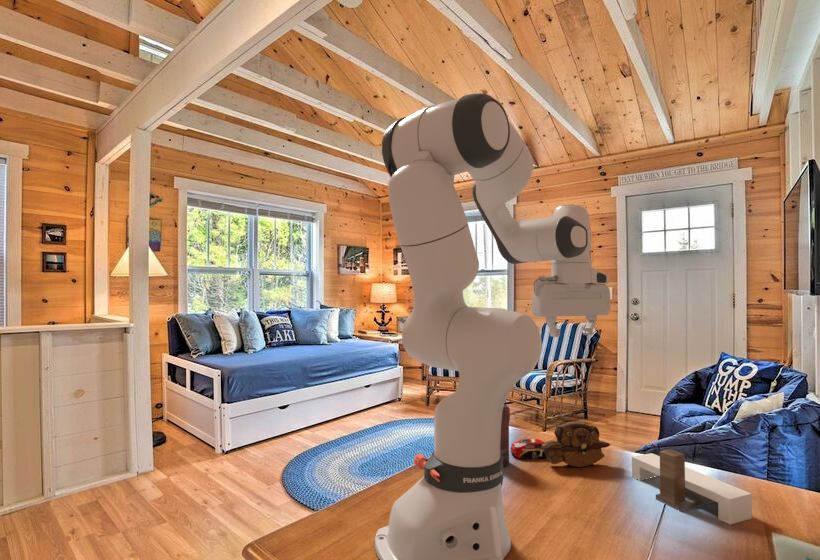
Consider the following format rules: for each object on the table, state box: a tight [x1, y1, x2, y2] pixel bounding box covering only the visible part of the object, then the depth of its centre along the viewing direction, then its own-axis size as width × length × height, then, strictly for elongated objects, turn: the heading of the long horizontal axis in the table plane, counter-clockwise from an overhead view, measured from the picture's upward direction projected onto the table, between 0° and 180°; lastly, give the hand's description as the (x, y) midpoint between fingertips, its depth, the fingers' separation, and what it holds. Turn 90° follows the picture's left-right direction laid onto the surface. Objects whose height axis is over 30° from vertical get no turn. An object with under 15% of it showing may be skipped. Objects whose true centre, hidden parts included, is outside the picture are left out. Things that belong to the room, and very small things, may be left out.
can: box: [500, 403, 511, 468], centre depth 106 cm, size 6×6×14 cm
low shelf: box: [631, 452, 753, 525], centre depth 89 cm, size 6×21×4 cm, turn 21°
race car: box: [509, 438, 547, 460], centre depth 111 cm, size 13×5×4 cm, turn 93°
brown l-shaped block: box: [655, 448, 716, 512], centre depth 87 cm, size 12×5×10 cm, turn 112°
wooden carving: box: [541, 421, 611, 468], centre depth 104 cm, size 16×5×10 cm, turn 101°
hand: (571, 335), depth 102 cm, fingers open, 8 cm apart
